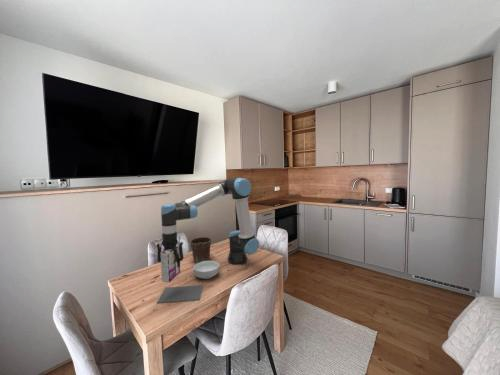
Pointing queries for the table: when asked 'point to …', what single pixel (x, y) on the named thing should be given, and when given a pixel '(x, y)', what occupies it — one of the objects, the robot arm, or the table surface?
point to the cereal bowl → (206, 269)
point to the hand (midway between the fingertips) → (171, 272)
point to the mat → (180, 294)
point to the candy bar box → (169, 264)
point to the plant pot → (201, 249)
